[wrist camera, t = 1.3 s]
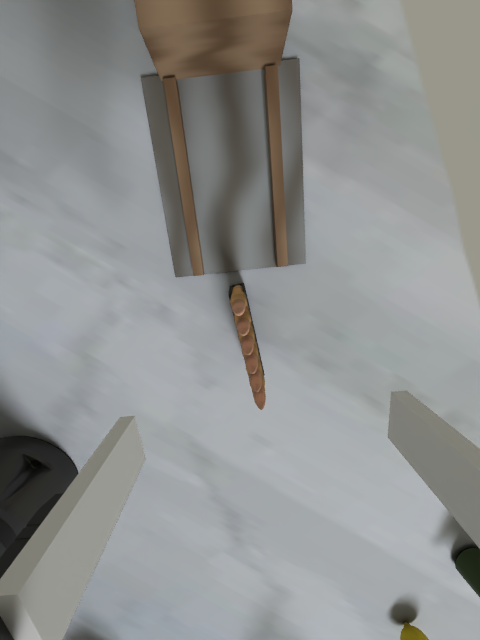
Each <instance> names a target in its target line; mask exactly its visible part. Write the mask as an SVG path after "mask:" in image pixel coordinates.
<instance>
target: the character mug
mask: <svg viewBox="0 0 480 640" xmlns="http://www.w3.org/2000/svg"><path fill="white" fill-rule="evenodd" d="M455 566H456V569H457V570H458V571H459V573H460V574H461V575H462V576H463V578H464V579H465V580H466V581H467V583H468V584H469V585H470V586H471V587H472V589H473V590H474V591H475V592H476V593H477V594H478V596H479V597H480V549H479V548H470V549H467V550H464V551H463V552H462V553H461V554H460V555H459V556H458V557H457V560H456V562H455Z"/></svg>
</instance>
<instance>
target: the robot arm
mask: <svg viewBox="0 0 480 640" xmlns="http://www.w3.org/2000/svg"><path fill="white" fill-rule="evenodd" d="M388 438H389V439H390V441H391V442H392V443H393V444H394V445H395V447H396V448H397V449H398V450H399V451H400V453H401V454H402V455H403V456H404V458H405V459H406V460H407V461H408V462H409V464H410V465H411V466H412V467H413V468H414V470H415V471H416V472H417V473H418V475H419V476H420V477H421V478H422V479H423V481H424V482H425V483H426V484H427V485H428V487H429V488H430V489H431V490H432V492H433V493H434V494H435V495H436V496H437V498H438V499H439V500H440V501H441V502H442V504H443V505H444V506H445V507H446V509H447V510H448V511H449V512H450V513H451V515H452V516H453V517H454V518H455V519H456V521H457V522H458V523H459V524H460V525H461V527H462V528H463V529H464V530H465V532H466V533H467V534H468V535H469V536H470V538H471V539H472V540H473V541H474V542H475V544H476V545H477V546H478V547H479V549H480V449H479V448H478V447H477V446H475V445H474V444H473V443H472V442H470V441H469V440H468V439H467V438H465V437H464V436H463V435H462V434H460V433H459V432H458V431H457V430H455V429H454V428H453V427H452V426H450V425H449V424H448V423H447V422H445V421H444V420H443V419H442V418H440V417H439V416H438V415H437V414H435V413H434V412H433V411H432V410H430V409H429V408H428V407H427V406H425V405H424V404H423V403H422V402H420V401H419V400H418V399H417V398H415V397H414V396H413V395H411V394H410V393H409V392H408V391H396V392H391V401H390V415H389V429H388ZM145 460H146V457H145V453H144V450H143V446H142V442H141V438H140V434H139V430H138V426H137V422H136V419H135V416H128V417H120V418H119V420H118V421H117V422H116V424H115V425H114V426H113V428H112V429H111V430H110V432H109V433H108V434H107V436H106V437H105V438H104V440H103V441H102V443H101V444H100V445H99V447H98V448H97V449H96V451H95V452H94V453H93V455H92V456H91V457H90V459H89V460H88V461H87V463H86V464H85V465H84V467H83V468H82V469H81V471H80V472H79V474H78V473H77V470H76V468H75V466H74V464H73V463H72V462H71V460H70V459H69V458H68V457H67V456H66V455H65V454H64V453H63V452H62V451H60V450H59V449H58V448H56V447H55V446H53V445H51V444H49V443H47V442H44V441H42V440H39V439H35V438H31V437H23V436H15V437H7V438H3V439H0V640H63V637H64V635H65V633H66V631H67V629H68V627H69V624H70V622H71V620H72V618H73V616H74V614H75V611H76V609H77V607H78V605H79V603H80V601H81V598H82V596H83V594H84V592H85V590H86V588H87V585H88V583H89V581H90V579H91V577H92V575H93V572H94V570H95V568H96V566H97V564H98V562H99V559H100V557H101V555H102V553H103V551H104V549H105V546H106V544H107V542H108V540H109V538H110V536H111V533H112V531H113V529H114V527H115V525H116V523H117V520H118V518H119V516H120V514H121V512H122V510H123V507H124V505H125V503H126V501H127V499H128V497H129V494H130V492H131V490H132V488H133V486H134V484H135V481H136V479H137V477H138V475H139V473H140V471H141V468H142V466H143V464H144V462H145Z"/></svg>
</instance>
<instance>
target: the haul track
mask: <svg viewBox="0 0 480 640" xmlns="http://www.w3.org/2000/svg"><path fill="white" fill-rule="evenodd" d="M134 1H135V7H136V13H137V19H138V25H139V30H140V32H141V35H142V37H143V39H144V42H145V44H146V46H147V49H148V51H149V53H150V56H151V58H152V60H153V63H154V65H155V67H156V70H157V72H158V74H159V75H158V76H150V77H141V81H142V87H143V92H144V98H145V104H146V110H147V115H148V121H149V127H150V133H151V138H152V144H153V150H154V156H155V161H156V167H157V173H158V179H159V184H160V190H161V196H162V202H163V208H164V213H165V219H166V225H167V231H168V236H169V242H170V248H171V254H172V259H173V265H174V271H175V277H183V276H197V275H204V274H211V273H221V272H230V271H239V270H248V269H258V268H267V267H281V266H288V265H295V264H304V263H306V256H305V224H304V192H303V160H302V128H301V96H300V64H299V58H298V59H290V60H282V61H281V59H282V54H283V50H284V45H285V41H286V36H287V32H288V27H289V23H290V18H291V14H292V0H134Z"/></svg>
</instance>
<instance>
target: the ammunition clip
mask: <svg viewBox="0 0 480 640" xmlns="http://www.w3.org/2000/svg"><path fill="white" fill-rule="evenodd" d="M229 298H230V305H231V307H232V311H233V315H234V321H235V324H236V327H237V331H238V337H239V340H240V343H241V347H242V354H243V356H244V360H245V364H246V370H247V372H248V376H249V381H250V386H251V388H252V392H253V397H254V400H255V403H256V405H257V406H258V408H259V409H260V410H262V409H263V408H264V406H265V400H266V396H265V387H264V386H265V380H264V370H263V366H262V361H261V357H260V352H259V348H258V343H257V339H256V334H255V330H254V326H253V321H252V317H251V312H250V308H249V303H248V299H247V294H246V290H245V286H244V283H241V284H236V285H232V286H230V289H229Z"/></svg>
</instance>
